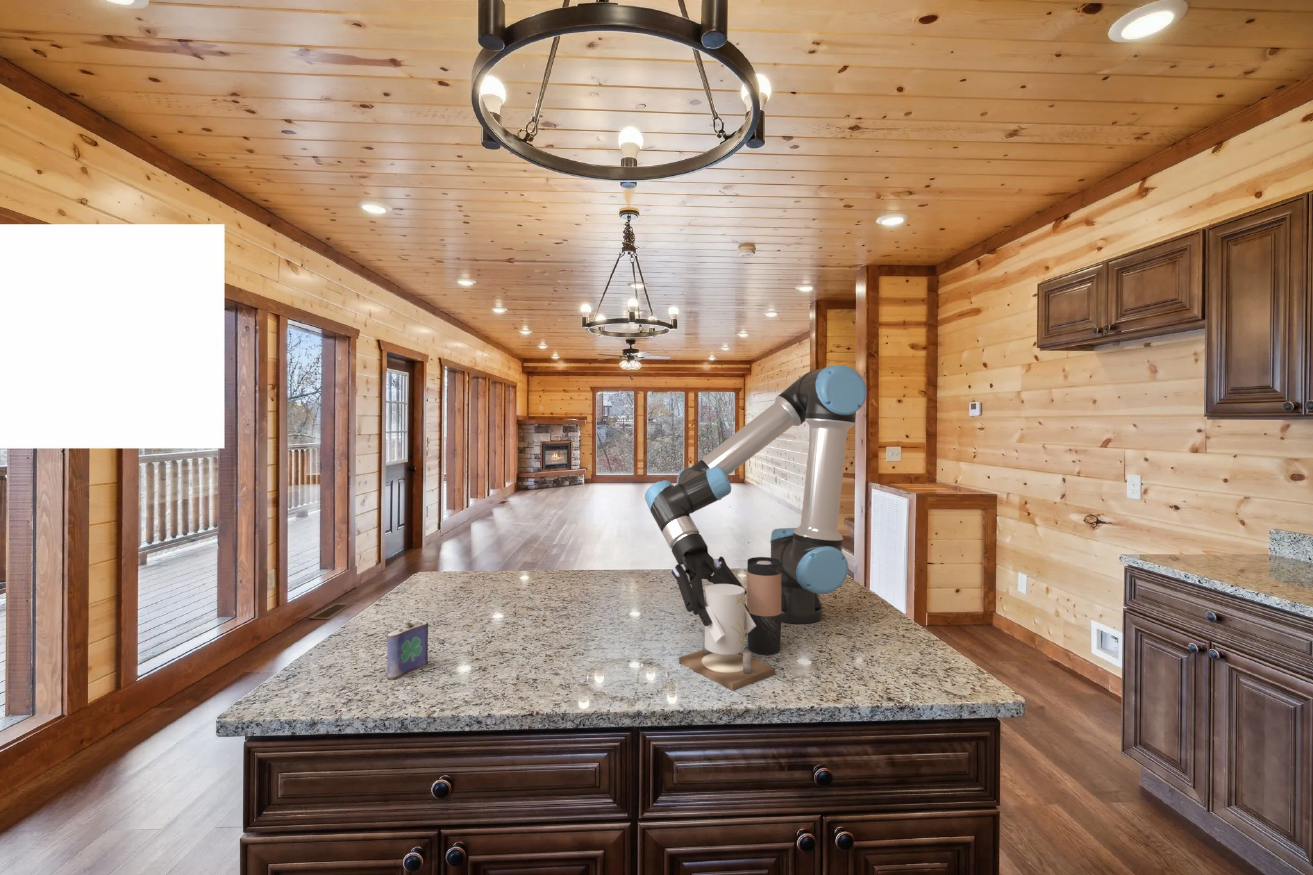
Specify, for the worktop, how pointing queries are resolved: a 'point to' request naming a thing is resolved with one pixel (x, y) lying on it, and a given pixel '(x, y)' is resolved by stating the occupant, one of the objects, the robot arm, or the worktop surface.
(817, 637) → the worktop surface
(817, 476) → the robot arm
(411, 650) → the flask
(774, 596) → the travel mug
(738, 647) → the cup
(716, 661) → the tray
